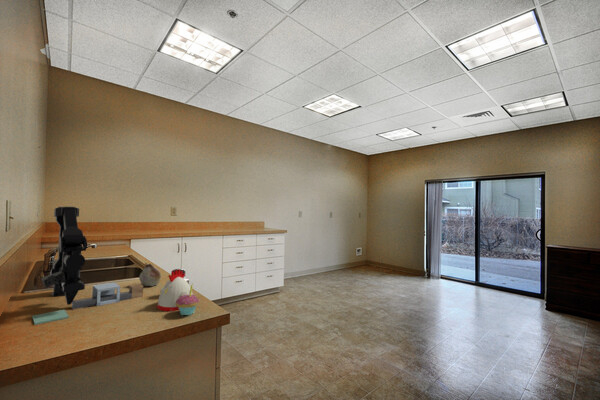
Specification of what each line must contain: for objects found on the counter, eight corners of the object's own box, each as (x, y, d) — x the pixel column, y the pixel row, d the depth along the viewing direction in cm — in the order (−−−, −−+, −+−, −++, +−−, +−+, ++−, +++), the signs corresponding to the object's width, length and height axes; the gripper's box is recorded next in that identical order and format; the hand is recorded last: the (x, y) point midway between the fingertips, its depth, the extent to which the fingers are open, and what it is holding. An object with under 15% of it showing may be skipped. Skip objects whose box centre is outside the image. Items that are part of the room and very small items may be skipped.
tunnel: (91, 300, 119) (92, 285, 119) (113, 296, 125) (114, 282, 125) (96, 306, 114) (97, 289, 114) (119, 301, 120) (120, 286, 120)
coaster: (32, 317, 101) (32, 315, 101) (64, 311, 107) (64, 309, 107) (34, 325, 95) (34, 323, 95) (68, 317, 101) (68, 316, 101)
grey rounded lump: (134, 287, 141) (135, 263, 141) (147, 282, 150) (148, 259, 151) (152, 288, 139) (154, 264, 140) (164, 283, 149) (166, 261, 149)
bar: (71, 308, 111) (72, 300, 112) (129, 297, 126) (130, 291, 126) (72, 310, 109) (72, 302, 109) (131, 299, 124) (131, 292, 124)
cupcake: (203, 311, 112) (204, 281, 112) (188, 319, 104) (189, 286, 104) (185, 308, 114) (187, 279, 115) (169, 315, 106) (171, 284, 107)
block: (128, 296, 127) (129, 285, 127) (139, 294, 130) (140, 283, 130) (131, 298, 124) (132, 287, 124) (142, 296, 127) (143, 285, 127)
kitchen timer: (149, 307, 114) (151, 270, 114) (176, 298, 127) (177, 265, 127) (175, 313, 109) (177, 275, 109) (200, 302, 121) (201, 268, 122)
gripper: (41, 263, 111) (38, 303, 111) (47, 272, 99) (44, 316, 98) (76, 260, 119) (74, 297, 119) (86, 267, 107) (83, 308, 106)
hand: (68, 304), depth 110 cm, fingers closed
